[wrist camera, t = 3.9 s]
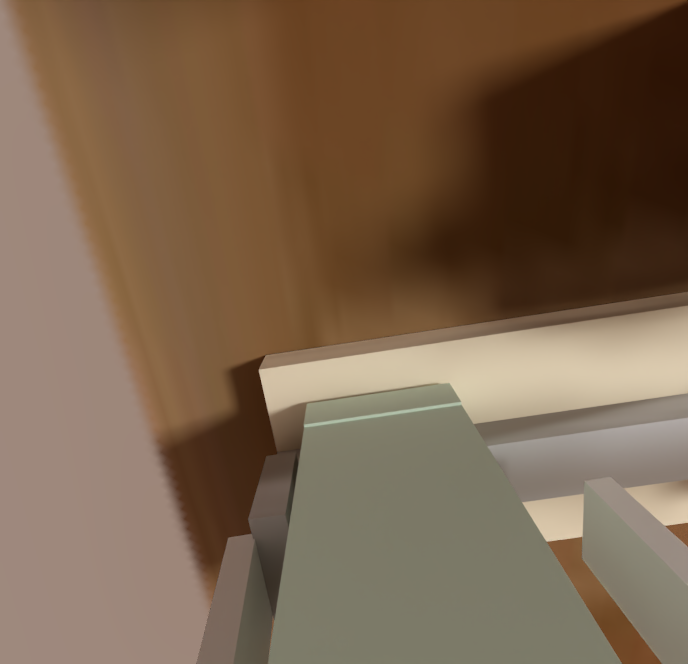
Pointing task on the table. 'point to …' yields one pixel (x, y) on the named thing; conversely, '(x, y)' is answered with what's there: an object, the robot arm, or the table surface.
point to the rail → (513, 407)
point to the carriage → (418, 547)
